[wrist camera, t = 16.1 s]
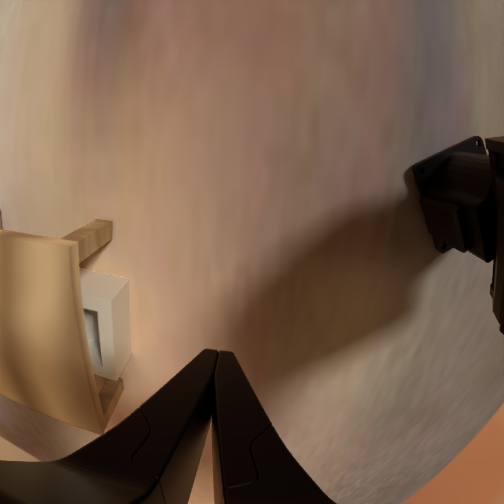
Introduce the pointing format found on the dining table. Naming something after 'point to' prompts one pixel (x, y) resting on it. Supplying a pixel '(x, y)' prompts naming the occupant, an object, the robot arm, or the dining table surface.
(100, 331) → the beige tray
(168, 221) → the dining table surface
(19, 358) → the oak shelf
